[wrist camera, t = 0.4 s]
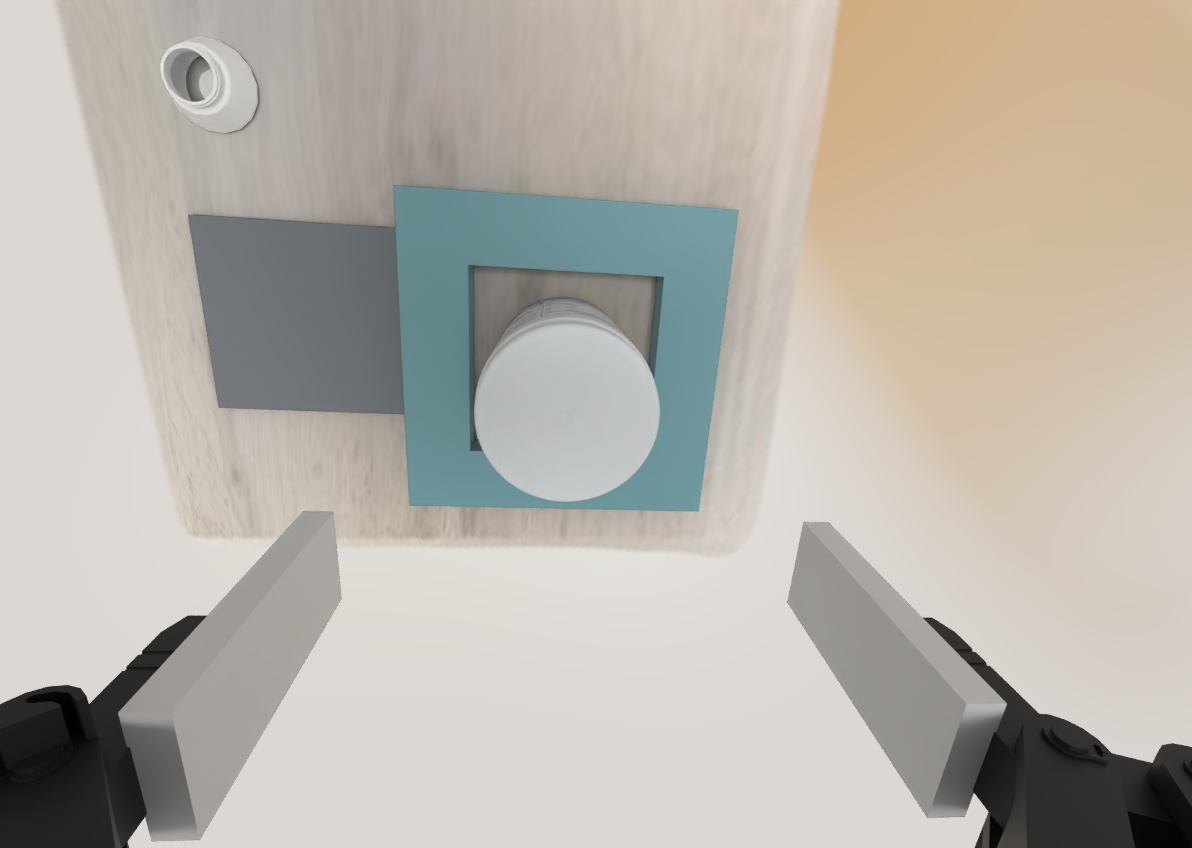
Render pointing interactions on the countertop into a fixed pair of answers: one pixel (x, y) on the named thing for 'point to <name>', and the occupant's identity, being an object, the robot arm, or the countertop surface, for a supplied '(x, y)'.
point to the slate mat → (301, 314)
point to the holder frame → (566, 243)
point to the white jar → (211, 84)
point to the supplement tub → (566, 403)
